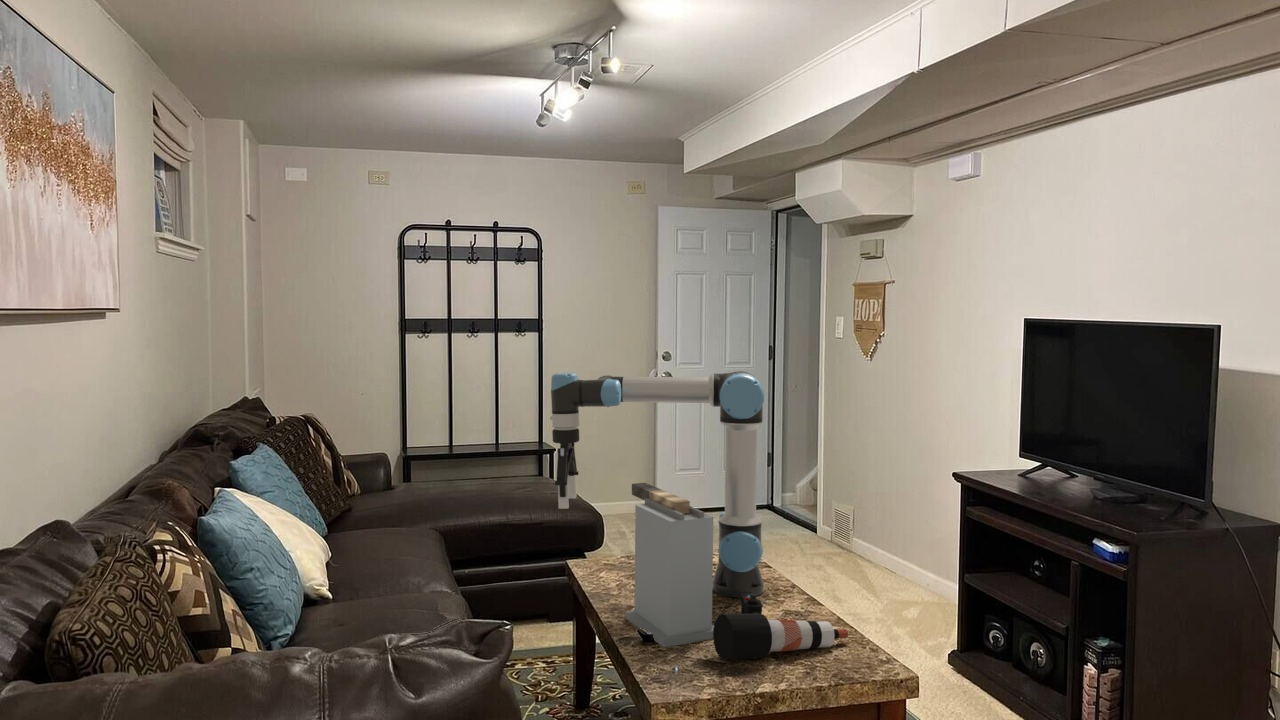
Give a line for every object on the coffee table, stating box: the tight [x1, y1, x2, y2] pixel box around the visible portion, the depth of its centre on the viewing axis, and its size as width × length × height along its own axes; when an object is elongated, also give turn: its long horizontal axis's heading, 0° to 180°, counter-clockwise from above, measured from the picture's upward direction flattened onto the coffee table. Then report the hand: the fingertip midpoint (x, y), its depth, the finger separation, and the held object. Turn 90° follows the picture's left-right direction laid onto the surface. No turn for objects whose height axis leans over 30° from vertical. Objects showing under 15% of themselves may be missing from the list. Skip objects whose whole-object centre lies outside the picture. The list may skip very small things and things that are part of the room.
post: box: [625, 498, 714, 648], centre depth 223 cm, size 22×16×32 cm
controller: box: [737, 592, 763, 614], centre depth 224 cm, size 4×12×10 cm, turn 6°
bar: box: [631, 482, 691, 514], centre depth 230 cm, size 26×4×3 cm, turn 25°
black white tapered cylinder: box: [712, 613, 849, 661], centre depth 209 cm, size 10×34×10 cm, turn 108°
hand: (567, 503), depth 245 cm, fingers open, 13 cm apart
